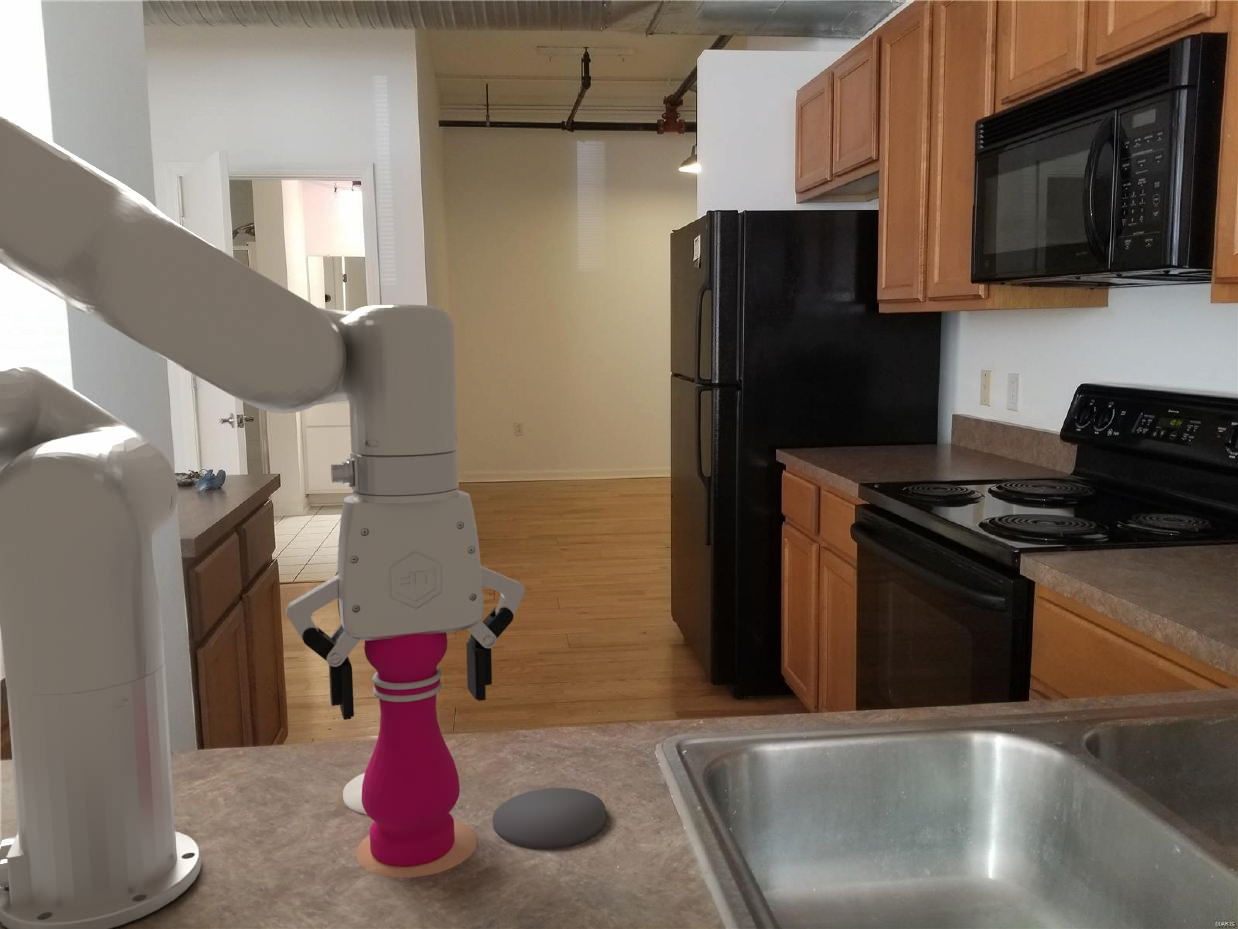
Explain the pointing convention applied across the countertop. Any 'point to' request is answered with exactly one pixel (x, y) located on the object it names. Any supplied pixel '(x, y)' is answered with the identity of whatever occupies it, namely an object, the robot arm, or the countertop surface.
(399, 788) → the pepper mill
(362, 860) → the peach oval dome
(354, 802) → the cream oval dome
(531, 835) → the dark gray oval dome
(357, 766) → the countertop surface
